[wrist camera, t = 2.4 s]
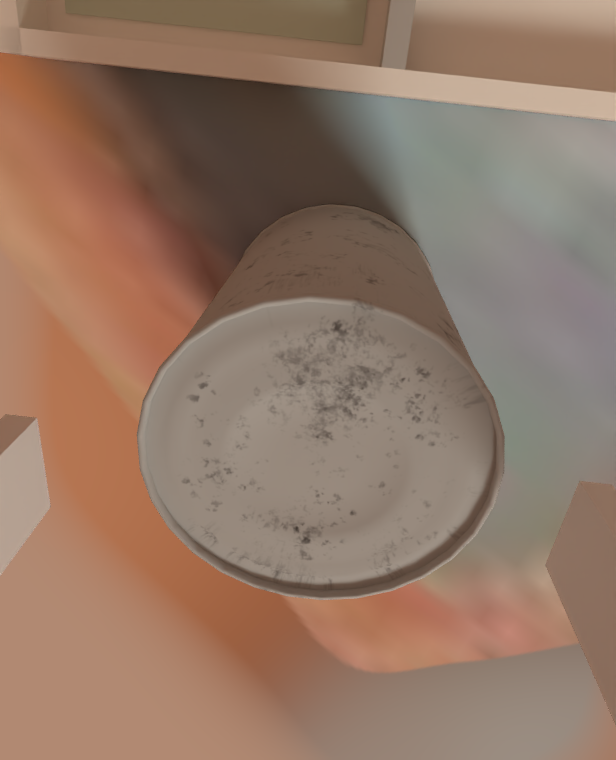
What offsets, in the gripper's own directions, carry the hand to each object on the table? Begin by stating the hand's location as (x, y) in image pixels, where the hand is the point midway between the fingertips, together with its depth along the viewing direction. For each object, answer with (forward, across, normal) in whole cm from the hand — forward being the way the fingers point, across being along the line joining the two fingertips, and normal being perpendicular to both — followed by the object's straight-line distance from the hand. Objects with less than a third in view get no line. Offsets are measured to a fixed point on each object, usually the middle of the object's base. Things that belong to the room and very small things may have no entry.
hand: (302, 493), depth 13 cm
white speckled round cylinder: (+13, 0, 0) cm, 13 cm away
